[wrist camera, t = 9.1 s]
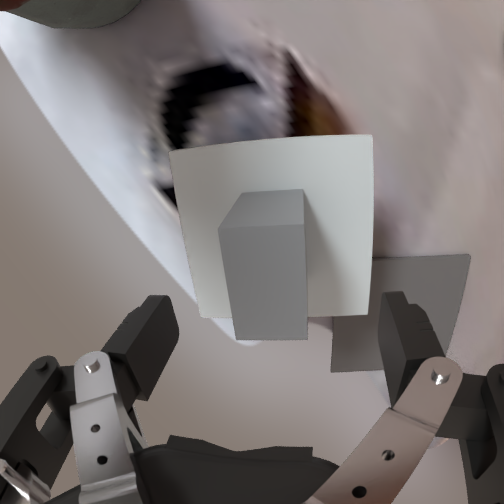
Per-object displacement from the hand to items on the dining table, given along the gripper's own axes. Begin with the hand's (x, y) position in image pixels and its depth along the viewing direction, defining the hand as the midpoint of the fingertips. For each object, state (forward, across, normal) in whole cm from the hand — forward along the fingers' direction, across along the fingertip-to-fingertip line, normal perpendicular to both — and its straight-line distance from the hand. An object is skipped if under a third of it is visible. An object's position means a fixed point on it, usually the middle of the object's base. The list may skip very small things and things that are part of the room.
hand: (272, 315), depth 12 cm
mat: (+11, -8, +9) cm, 17 cm away
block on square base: (+6, 0, -1) cm, 6 cm away
